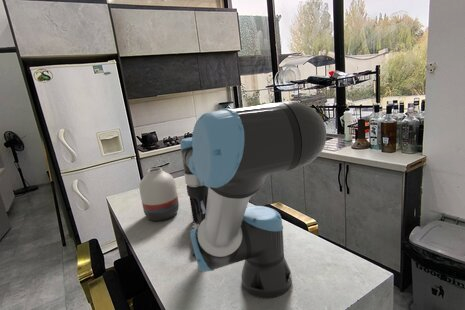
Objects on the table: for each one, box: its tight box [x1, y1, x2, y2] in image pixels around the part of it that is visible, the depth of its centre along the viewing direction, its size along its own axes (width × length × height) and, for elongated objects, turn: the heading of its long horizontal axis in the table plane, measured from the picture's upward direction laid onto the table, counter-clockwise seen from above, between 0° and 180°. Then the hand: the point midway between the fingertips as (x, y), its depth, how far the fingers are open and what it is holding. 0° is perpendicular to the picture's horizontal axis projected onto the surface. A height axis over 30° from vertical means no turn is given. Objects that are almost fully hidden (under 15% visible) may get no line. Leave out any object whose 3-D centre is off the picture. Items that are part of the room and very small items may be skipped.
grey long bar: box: [190, 221, 199, 257], centre depth 111 cm, size 20×5×3 cm, turn 11°
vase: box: [138, 167, 180, 222], centre depth 135 cm, size 17×17×24 cm
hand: (206, 244), depth 100 cm, fingers closed
